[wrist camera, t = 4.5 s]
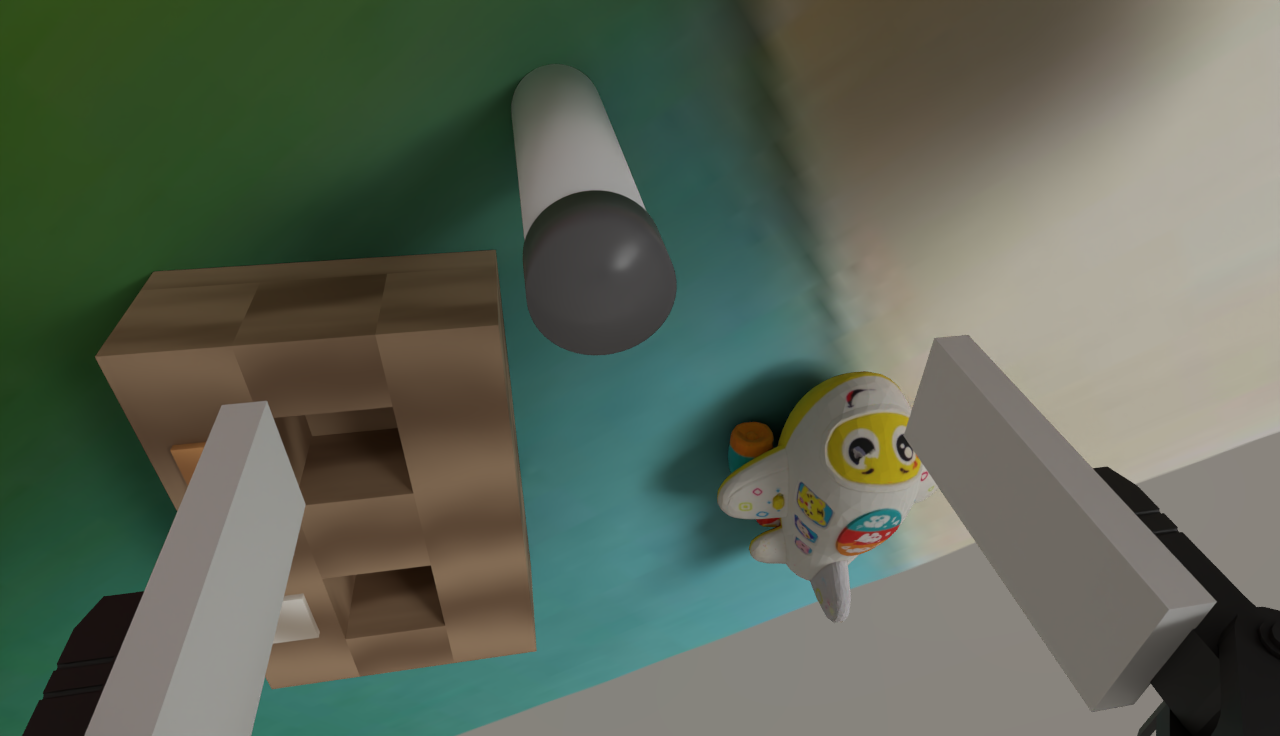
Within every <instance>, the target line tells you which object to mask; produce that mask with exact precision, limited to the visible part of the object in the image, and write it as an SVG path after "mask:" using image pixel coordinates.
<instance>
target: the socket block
mask: <svg viewBox="0 0 1280 736" xmlns="http://www.w3.org/2000/svg"><path fill="white" fill-rule="evenodd" d="M95 358H96V360H97V362H98V364H99V366H100V368H101V369H102V371H103V373H104V375H105V377H106V379H107V381H108V383H109V384H110V386H111V388H112V390H113V392H114V394H115V396H116V398H117V399H118V401H119V403H120V405H121V407H122V409H123V411H124V413H125V414H126V416H127V418H128V420H129V422H130V424H131V426H132V428H133V429H134V431H135V433H136V435H137V437H138V439H139V441H140V443H141V444H142V446H143V448H144V450H145V452H146V454H147V456H148V458H149V459H150V461H151V463H152V465H153V467H154V469H155V471H156V473H157V474H158V476H159V478H160V480H161V482H162V484H163V486H164V488H165V489H166V491H167V493H168V495H169V497H170V499H171V501H172V503H173V504H174V506H175V508H176V510H177V512H178V509H179V507H180V504H181V502H182V499H183V497H184V495H185V492H186V490H187V487H188V485H189V483H190V480H191V478H192V475H193V473H194V471H195V468H196V466H197V463H198V461H199V459H200V456H201V454H202V451H203V449H204V447H205V444H206V442H207V439H208V437H209V435H210V432H211V430H212V427H213V425H214V423H215V420H216V418H217V415H218V413H219V410H220V408H221V406H222V405H227V404H238V403H249V402H259V401H267V402H268V405H269V408H270V410H271V413H272V416H273V418H274V421H275V424H276V426H277V429H278V432H279V434H280V437H281V440H282V443H283V445H284V448H285V451H286V453H287V456H288V459H289V461H290V464H291V467H292V469H293V472H294V475H295V477H296V480H297V483H298V485H299V488H300V491H301V494H302V496H303V499H304V502H305V504H306V505H305V510H304V514H303V518H302V522H301V527H300V531H299V535H298V539H297V543H296V548H295V552H294V556H293V560H292V565H291V569H290V573H289V577H288V581H287V586H286V590H285V594H284V598H283V602H282V607H281V611H280V615H279V619H278V624H277V628H276V632H275V636H274V640H273V645H272V649H271V653H270V657H269V662H268V666H267V670H266V674H265V677H266V679H267V681H268V683H269V685H270V686H271V688H272V689H276V688H283V687H290V686H297V685H304V684H311V683H318V682H325V681H332V680H339V679H346V678H353V677H360V676H367V675H374V674H380V673H387V672H394V671H401V670H408V669H415V668H422V667H429V666H436V665H443V664H450V663H457V662H464V661H471V660H478V659H485V658H492V657H499V656H506V655H513V654H520V653H527V652H534V651H536V636H535V621H534V607H533V592H532V577H531V563H530V554H529V545H528V536H527V527H526V518H525V509H524V500H523V491H522V482H521V473H520V464H519V455H518V446H517V437H516V428H515V419H514V410H513V401H512V392H511V383H510V374H509V365H508V356H507V347H506V338H505V329H504V320H503V311H502V302H501V293H500V284H499V276H498V267H497V258H496V250H485V251H470V252H454V253H438V254H423V255H407V256H391V257H376V258H360V259H344V260H329V261H313V262H297V263H282V264H266V265H250V266H235V267H219V268H203V269H188V270H172V271H156V272H153V273H152V275H151V276H150V278H149V279H148V280H147V282H146V283H145V285H144V286H143V288H142V289H141V291H140V292H139V293H138V295H137V296H136V298H135V299H134V301H133V302H132V304H131V305H130V307H129V308H128V309H127V311H126V312H125V314H124V315H123V317H122V318H121V320H120V321H119V322H118V324H117V325H116V327H115V328H114V330H113V331H112V333H111V334H110V336H109V337H108V338H107V340H106V341H105V343H104V344H103V346H102V347H101V349H100V350H99V351H98V353H97V354H96V356H95Z"/></svg>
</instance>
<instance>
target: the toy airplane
mask: <svg viewBox="0 0 1280 736" xmlns="http://www.w3.org/2000/svg"><path fill="white" fill-rule="evenodd" d="M910 414H911V408H910V406H909V403H908V402H907V400H906V398H905V396H904V394H903V393H902V391H901V390H900V388H899V387H898V386H897V385H896V384H895V383H894V382H893V381H892V380H891V379H889V378H887V377H885V376H883V375H881V374H877V373H872V372H852V373H846V374H842V375H838V376H835V377H832V378H830V379H828V380H826V381H823V382H822V383H820V384H818V385H817V386H815V387H814V388H812V389H811V390H810V391H809V392H808V393H807V394H805V395H804V396H803V397H802V399H801V400H800V401H799V402H798V403H797V404H796V406H795V407H794V409H793V410H792V412H791V413H790V415H789V417H788V419H787V421H786V423H785V425H784V428H783V430H782V433H781V436H780V439H779V442H778V446H777V447H775V448H773V440H774V437H773V433H772V431H771V430H770V428H769V427H768V426H767V425H766V424H763V423H759V422H745V423H741V424H739V425H736V427H735V428H734V429H733V431H732V433H731V437H730V443H729V449H728V462H729V469H730V472H731V474H730V475H729V476H728V477H727V478H726V479H725V480H724V481H723V483H722V484H721V486H720V487H719V489H718V494H717V502H718V505H719V506H720V508H721V510H722V511H724V512H725V513H726V514H728V515H729V516H731V517H734V518H741V519H756V520H757V522H758V523H759V524H760V525H762V526H764V527H776V528H773V529H771V530H768V531H766V532H763V533H762V534H760V535H758V536H757V537H755V538H754V539H753V540H752V541H751V543H750V546H749V550H750V554H751V556H752V557H753V558H754V559H755V560H757V561H760V562H764V563H782V564H786V565H787V566H788V567H789V568H790V570H792V571H793V572H794V573H795V574H796V575H798V576H799V577H801V578H804V579H806V580H809V581H810V582H811V585H812V587H813V590H814V592H815V595H816V598H817V600H818V601H819V603H820V605H821V607H822V609H823V611H824V613H825V614H826V616H827V618H828V619H830V620H831V621H833V622H837V623H840V622H843V621H845V619H846V618H847V616H848V615H849V610H850V599H851V595H850V585H849V575H848V564H849V563H851V562H852V561H853V560H854V559H855V558H856V557H857V556H858V555H859V554H862V553H864V552H867V551H869V550H871V549H873V548H875V547H876V546H878V545H880V544H881V543H882V542H884V541H885V540H887V539H888V538H889V537H890V536H891V535H892V534H893V533H894V532H895V531H896V530H897V529H898V527H899V526H900V525H901V524H902V522H903V521H904V520H905V518H906V517H907V515H908V513H909V511H910V509H911V507H912V505H913V504H914V503H918V502H921V501H923V500H925V499H926V498H928V497H929V496H930V495H932V494H933V493H934V492H935V491H936V490H937V489H938V486H937V484H936V483H935V481H934V480H933V478H932V477H931V475H930V474H929V473H928V471H927V470H926V468H925V467H924V465H923V464H922V462H921V461H920V459H919V458H918V456H917V455H916V453H915V452H914V451H913V449H912V448H911V446H910V445H909V443H908V442H907V440H906V439H905V437H904V433H905V430H906V427H907V424H908V420H909V417H910Z"/></svg>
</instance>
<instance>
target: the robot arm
mask: <svg viewBox="0 0 1280 736" xmlns="http://www.w3.org/2000/svg"><path fill="white" fill-rule="evenodd" d="M904 437H905V439H906V440H907V442H908V443H909V445H910V446H911V448H912V449H913V451H914V452H915V453H916V455H917V456H918V458H919V459H920V461H921V462H922V464H923V465H924V467H925V468H926V470H927V471H928V473H929V474H930V475H931V477H932V478H933V480H934V481H935V483H936V484H937V486H938V487H939V489H940V490H941V492H942V493H943V495H944V496H945V497H946V499H947V500H948V502H949V503H950V505H951V506H952V508H953V509H954V511H955V512H956V514H957V515H958V517H959V518H960V519H961V521H962V522H963V524H964V525H965V527H966V528H967V530H968V531H969V533H970V534H971V536H972V537H973V539H974V540H975V541H976V543H977V544H978V546H979V547H980V549H981V550H982V552H983V553H984V555H985V556H986V558H987V559H988V560H989V562H990V564H991V565H992V566H993V568H994V569H995V571H996V572H997V574H998V575H999V577H1000V578H1001V580H1002V581H1003V583H1004V584H1005V585H1006V587H1007V588H1008V590H1009V591H1010V593H1011V594H1012V596H1013V597H1014V599H1015V600H1016V602H1017V603H1018V605H1019V606H1020V608H1021V609H1022V610H1023V612H1024V613H1025V615H1026V616H1027V618H1028V619H1029V621H1030V622H1031V624H1032V625H1033V627H1034V628H1035V630H1036V631H1037V632H1038V634H1039V635H1040V637H1041V638H1042V640H1043V641H1044V643H1045V644H1046V646H1047V647H1048V649H1049V650H1050V651H1051V653H1052V654H1053V656H1054V657H1055V659H1056V660H1057V662H1058V663H1059V665H1060V666H1061V668H1062V669H1063V671H1064V672H1065V674H1066V675H1067V677H1068V678H1069V679H1070V681H1071V682H1072V684H1073V685H1074V687H1075V688H1076V690H1077V691H1078V693H1079V694H1080V696H1081V697H1082V699H1083V700H1084V701H1085V703H1086V704H1087V706H1088V707H1089V709H1090V710H1091V712H1095V711H1100V710H1106V709H1111V708H1117V707H1123V706H1128V705H1133V704H1134V703H1135V702H1136V701H1137V700H1138V699H1139V697H1140V696H1141V695H1142V694H1143V692H1144V691H1145V690H1146V689H1147V687H1148V686H1149V685H1150V684H1152V685H1153V687H1154V688H1155V690H1156V691H1157V692H1158V693H1159V695H1160V696H1161V697H1162V699H1163V700H1164V701H1163V702H1162V703H1161V704H1160V706H1159V707H1158V708H1157V709H1156V710H1155V711H1154V713H1153V714H1152V715H1151V716H1150V718H1148V720H1147V721H1146V722H1145V723H1144V724H1143V726H1142V727H1141V728H1140V729H1139V732H1138V735H1137V736H1150V735H1151V734H1152V733H1153V732H1154V731H1155V730H1156V736H1280V611H1278V610H1274V609H1270V608H1266V607H1256V606H1255V605H1254V604H1252V603H1251V602H1250V601H1249V600H1248V599H1247V598H1246V597H1245V596H1244V595H1243V594H1242V593H1241V592H1240V591H1239V590H1238V589H1237V588H1236V587H1235V586H1234V585H1233V584H1232V583H1231V582H1230V581H1229V580H1228V579H1227V577H1226V576H1225V575H1224V574H1223V573H1222V572H1221V571H1220V570H1219V569H1218V568H1217V567H1216V566H1215V565H1214V564H1213V563H1212V562H1211V561H1210V560H1209V559H1208V558H1207V557H1206V556H1205V555H1204V554H1203V553H1202V552H1201V551H1200V550H1199V549H1198V548H1197V547H1196V546H1195V545H1194V544H1193V543H1192V542H1191V541H1190V540H1189V538H1188V537H1187V536H1186V535H1185V534H1184V533H1182V532H1178V530H1177V526H1176V525H1175V524H1174V523H1173V522H1172V521H1171V520H1170V519H1169V518H1168V517H1167V516H1166V515H1165V514H1164V513H1162V514H1161V513H1160V512H1159V508H1158V507H1157V506H1156V505H1155V504H1154V503H1153V502H1152V501H1151V499H1150V498H1148V496H1147V495H1146V494H1145V493H1144V492H1143V491H1142V490H1141V489H1140V488H1139V487H1138V486H1137V485H1135V484H1134V483H1132V482H1131V481H1129V480H1127V479H1126V478H1124V477H1123V476H1121V475H1120V474H1118V473H1116V472H1115V471H1113V470H1112V469H1110V468H1109V467H1101V468H1092V467H1091V466H1090V465H1089V464H1088V463H1087V462H1086V461H1085V460H1084V459H1083V458H1082V456H1081V455H1080V454H1079V453H1078V452H1077V451H1076V450H1075V449H1074V448H1073V447H1072V446H1071V445H1070V444H1069V443H1068V441H1067V440H1066V439H1065V438H1064V437H1063V436H1062V435H1061V434H1060V433H1059V432H1058V431H1057V430H1056V429H1055V427H1054V426H1053V425H1052V424H1051V423H1050V422H1049V421H1048V420H1047V419H1046V418H1045V417H1044V416H1043V415H1042V414H1041V412H1040V411H1039V410H1038V409H1037V408H1036V407H1035V406H1034V405H1033V404H1032V403H1031V402H1030V401H1029V400H1028V399H1027V397H1026V396H1025V395H1024V394H1023V393H1022V392H1021V391H1020V390H1019V389H1018V388H1017V387H1016V386H1015V385H1014V384H1013V382H1012V381H1011V380H1010V379H1009V378H1008V377H1007V376H1006V375H1005V374H1004V373H1003V372H1002V371H1001V370H1000V368H999V367H998V366H997V365H996V364H995V363H994V362H993V361H992V360H991V359H990V358H989V357H988V356H987V355H986V353H985V352H984V351H983V350H982V349H981V348H980V347H979V346H978V345H977V344H976V343H975V342H974V341H973V340H972V338H971V337H970V336H969V335H962V336H951V337H940V338H934V341H933V344H932V348H931V351H930V354H929V357H928V360H927V363H926V367H925V370H924V373H923V376H922V379H921V382H920V386H919V389H918V392H917V395H916V398H915V401H914V405H913V408H912V411H911V414H910V417H909V420H908V424H907V427H906V430H905V433H904ZM305 505H306V504H305V502H304V499H303V496H302V494H301V491H300V488H299V485H298V483H297V480H296V477H295V475H294V472H293V469H292V467H291V464H290V461H289V459H288V456H287V453H286V451H285V448H284V445H283V443H282V440H281V437H280V434H279V432H278V429H277V426H276V424H275V421H274V418H273V416H272V413H271V410H270V408H269V405H268V402H267V401H259V402H249V403H238V404H227V405H222V406H221V408H220V410H219V413H218V415H217V418H216V420H215V423H214V425H213V427H212V430H211V432H210V435H209V437H208V439H207V442H206V444H205V447H204V449H203V451H202V454H201V456H200V459H199V461H198V463H197V466H196V468H195V471H194V473H193V475H192V478H191V480H190V483H189V485H188V487H187V490H186V492H185V495H184V497H183V499H182V502H181V504H180V507H179V509H178V512H177V514H176V516H175V519H174V521H173V524H172V526H171V528H170V531H169V533H168V536H167V538H166V540H165V543H164V545H163V548H162V550H161V552H160V555H159V557H158V560H157V562H156V564H155V567H154V569H153V572H152V574H151V576H150V579H149V581H148V584H147V586H146V588H145V591H143V592H136V593H128V594H120V595H112V596H104V597H103V598H102V599H101V600H100V601H99V602H98V603H97V604H96V605H95V607H94V608H93V609H92V610H91V611H90V612H89V613H88V614H87V615H86V616H85V617H84V618H83V619H82V621H81V622H80V623H79V624H78V625H77V626H76V627H75V628H74V629H73V632H72V634H71V636H70V638H69V640H68V642H67V644H66V646H65V648H64V650H63V652H62V654H61V656H60V659H59V661H58V663H57V665H58V668H57V670H56V671H53V673H52V675H51V677H50V679H49V681H48V683H47V685H46V688H45V690H44V692H43V694H44V697H43V699H42V700H39V702H38V704H37V706H36V708H35V710H34V712H33V715H32V717H31V719H30V721H29V723H28V725H27V727H26V729H25V731H24V733H23V735H22V736H251V733H252V729H253V725H254V721H255V716H256V712H257V708H258V704H259V699H260V695H261V691H262V687H263V683H264V678H265V674H266V670H267V666H268V662H269V657H270V653H271V649H272V645H273V640H274V636H275V632H276V628H277V624H278V619H279V615H280V611H281V607H282V602H283V598H284V594H285V590H286V586H287V581H288V577H289V573H290V569H291V565H292V560H293V556H294V552H295V548H296V543H297V539H298V535H299V531H300V527H301V522H302V518H303V514H304V510H305Z"/></svg>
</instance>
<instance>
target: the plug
mask: <svg viewBox="0 0 1280 736" xmlns="http://www.w3.org/2000/svg"><path fill="white" fill-rule="evenodd" d="M511 114H512V124H513V134H514V143H515V153H516V163H517V172H518V182H519V192H520V201H521V211H522V221H523V231H524V240H525V242H524V247H523V268H524V278H525V289H526V299H527V306H528V310H529V313H530V316H531V318H532V320H533V322H534V324H535V325H536V327H537V328H538V329H539V331H540V332H541V333H542V334H543V335H544V336H545V337H546V338H547V339H549V340H550V341H551V342H553V343H554V344H556V345H558V346H559V347H561V348H564V349H566V350H568V351H572V352H575V353H579V354H585V355H607V354H613V353H617V352H621V351H624V350H627V349H630V348H632V347H634V346H636V345H638V344H640V343H641V342H643V341H645V340H646V339H648V338H649V337H650V336H651V335H653V334H654V333H655V332H656V331H657V330H658V329H659V328H660V327H661V325H662V324H663V323H664V321H665V320H666V318H667V317H668V315H669V313H670V311H671V309H672V307H673V304H674V300H675V296H676V289H677V288H676V275H675V271H674V268H673V265H672V262H671V260H670V257H669V255H668V253H667V250H666V248H665V245H664V243H663V241H662V238H661V236H660V233H659V231H658V229H657V226H656V224H655V223H654V221H653V219H652V218H651V216H650V215H649V214H648V212H647V211H646V209H645V206H644V204H643V202H642V199H641V197H640V194H639V192H638V189H637V187H636V184H635V182H634V179H633V177H632V174H631V172H630V170H629V167H628V165H627V162H626V160H625V157H624V155H623V152H622V150H621V147H620V145H619V142H618V140H617V138H616V135H615V133H614V130H613V128H612V125H611V123H610V120H609V118H608V115H607V113H606V111H605V108H604V106H603V103H602V101H601V98H600V96H599V93H598V91H597V89H596V87H595V85H594V84H593V83H592V81H591V80H590V79H589V78H588V77H587V76H586V75H585V74H584V73H582V72H581V71H579V70H578V69H576V68H573V67H571V66H568V65H563V64H548V65H544V66H541V67H538V68H536V69H534V70H533V71H531V72H530V73H528V74H527V75H526V76H525V77H524V78H523V79H522V80H521V81H520V83H519V84H518V86H517V88H516V89H515V92H514V94H513V98H512V104H511Z"/></svg>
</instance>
